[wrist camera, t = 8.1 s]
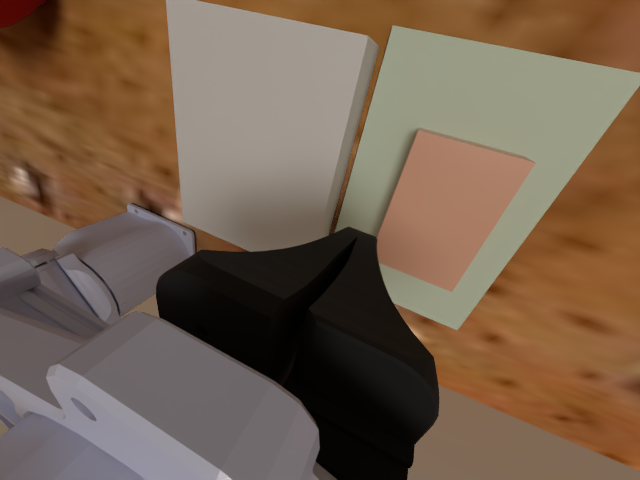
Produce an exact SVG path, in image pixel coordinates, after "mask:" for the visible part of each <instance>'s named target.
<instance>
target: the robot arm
mask: <svg viewBox="0 0 640 480" xmlns="http://www.w3.org/2000/svg"><path fill="white" fill-rule="evenodd" d="M127 210H128V212H126V213H123V214H120V215H117V216H114V217H111V218H108V219H105V220H102V221H100V222H97V223H94V224H91V225H88V226H85V227H82V228H79V229H77V230H74V231H72V232H70V233H68V234H67V235H66V236H64V237H63V238H62V239H61V240H60V241H59V242H58V243H57V244H56V245H55V247H54V248H53V250H52V251H50V250H47V249H39V250H36V251H33V252H31V253H28V254H25V255H22V256H19V255H18V254H16V253H14V252H13V251H11V250H9V249H7V248H3V247H2V248H0V423H2V424H3V425H4V426H5V427H6V428H8V429H9V430H8V431H7V432H6V433H5V434H3V435H2V436H0V480H407V474H408V468H410V467H411V466H412V464H413V458H414V445H415V444H416V442H418V440H419V439H420V438H421V437H422V436H423V435H424V434H425V433H426V432H427V431H428V430H429V429H430V428H431V427H432V426H433V424H434V423H435V421H436V419H437V417H438V412H439V388H438V380H437V374H436V367H435V361H434V357H433V356H432V355H431V353H430V352H429V351H428V350H427V349H426V348H425V346H424V345H423V344H422V343H421V342H420V341H419V339H418V338H417V337H416V336H415V335H414V334H413V332H412V331H411V330H410V328H409V327H408V325H407V324H406V323H405V321H404V320H403V318H402V317H401V315H400V314H399V312H398V310H397V309H396V307H395V305H394V303H393V302H392V300H391V298H390V296H389V293H388V291H387V289H386V286H385V283H384V281H383V277H382V274H381V270H380V266H379V261H378V255H377V241H378V240H377V238H376V237H375V236H373V235H370V234H367V233H365V232H362V231H359V230H357V229H354V228H352V227H346V228H344V229H342V230H339V231H337V232H335V233H333V234H331V235H328V236H326V237H323V238H321V239H318V240H315V241H312V242H309V243H306V244H302V245H298V246H294V247H289V248H284V249H276V250H267V251H254V252H227V251H210V250H200V251H199V252H197V253H195V237H194V233H193V231H192V230H190V229H187V228H185V227H183V226H181V225H178V224H176V223H174V222H172V221H170V220H167V219H165V218H163V217H161V216H158V215H156V214H154V213H152V212H149V211H147V210H145V209H143V208H140V207H138V206H136V205H134V204H128V205H127ZM154 294H156V299H157V305H158V311H159V316H160V318H159V317H156V316H153V315H150V314H147V313H144V312H133V313H131V314H128V315H126V316H124V317H122V318H120V317H121V316H123V315H124V314H126V313H127V312H129V311H130V310H132V309H133V308H135V307H136V306H137V305H139V304H141V303H142V302H144V301H145V300H147V299H148V298H150V297H151V296H152V295H154Z"/></svg>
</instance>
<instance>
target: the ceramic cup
mask: <svg viewBox="0 0 640 480" xmlns="http://www.w3.org/2000/svg"><path fill="white" fill-rule="evenodd" d="M45 2H46V0H0V28H3V27H7V26H10V25H13V24H15V23H17V22H19V21H21V20H22V19H24V18H25V17H27V16H28V15H30V14H31V13H32V12H33V11H35V10H36V8H37V7H38V6H39V5H42V4H44V3H45Z"/></svg>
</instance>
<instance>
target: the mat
mask: <svg viewBox="0 0 640 480" xmlns="http://www.w3.org/2000/svg"><path fill="white" fill-rule="evenodd" d="M639 86H640V73H637V72H632V71H626V70H621V69H616V68H611V67H606V66H600V65H595V64H590V63H585V62H580V61H575V60H569V59H564V58H559V57H554V56H549V55H543V54H538V53H533V52H528V51H523V50H518V49H512V48H507V47H502V46H497V45H492V44H486V43H481V42H476V41H471V40H466V39H461V38H455V37H450V36H445V35H440V34H435V33H429V32H424V31H419V30H414V29H409V28H404V27H398V26H392V30H391V33H390V37H389V41H388V44H387V48H386V51H385V55H384V58H383V62H382V66H381V69H380V73H379V76H378V80H377V83H376V87H375V90H374V94H373V98H372V101H371V105H370V108H369V112H368V115H367V119H366V122H365V126H364V130H363V133H362V137H361V140H360V144H359V147H358V151H357V155H356V158H355V162H354V165H353V169H352V172H351V176H350V179H349V183H348V187H347V190H346V194H345V197H344V201H343V204H342V208H341V211H340V215H339V219H338V222H337V226H336V229H335V232H337V231H339V230H342V229H344V228H346V227H352V228H354V229H357V230H359V231H362V232H365V233H367V234H370V235H373V236H375V237H376V238H377V236H378V234H379V231H380V229H381V226H382V223H383V221H384V218H385V216H386V213H387V210H388V208H389V205H390V203H391V200H392V197H393V195H394V192H395V190H396V187H397V184H398V182H399V179H400V177H401V174H402V171H403V169H404V166H405V164H406V161H407V158H408V156H409V153H410V150H411V148H412V145H413V143H414V140H415V137H416V135H417V132H418V130H419V129H420V128H423V129H427V130H431V131H434V132H438V133H442V134H445V135H449V136H453V137H456V138H460V139H464V140H467V141H471V142H475V143H478V144H482V145H486V146H489V147H493V148H497V149H500V150H504V151H508V152H511V153H515V154H519V155H522V156H525V157H527V158H529V159H530V160H532V161H534V162H535V165H534V167H533V168H532V170H531V171H530V173H529V174H528V176H527V177H526V179H525V180H524V182H523V184H522V185H521V187H520V188H519V190H518V191H517V193H516V194H515V196H514V197H513V199H512V200H511V202H510V204H509V205H508V207H507V208H506V210H505V211H504V213H503V214H502V216H501V217H500V219H499V221H498V222H497V224H496V225H495V227H494V228H493V230H492V231H491V233H490V234H489V236H488V238H487V239H486V241H485V242H484V244H483V245H482V247H481V248H480V250H479V251H478V253H477V254H476V256H475V258H474V259H473V261H472V262H471V264H470V265H469V267H468V268H467V270H466V271H465V273H464V275H463V276H462V278H461V279H460V281H459V282H458V284H457V285H456V287H455V288H454V290H453V291H452V292H450V291H448V290H445V289H443V288H440V287H438V286H435V285H433V284H430V283H428V282H425V281H423V280H420V279H418V278H416V277H413V276H411V275H408V274H406V273H403V272H401V271H398V270H396V269H393V268H391V267H388V266H386V265H383V264H381V263H379V266H380V270H381V274H382V277H383V281H384V283H385V286H386V289H387V291H388V293H389V296H390V298H391V300H392V302H393V303H395V304H397V305H399V306H402V307H404V308H406V309H409V310H411V311H413V312H416V313H418V314H420V315H423V316H425V317H427V318H430V319H432V320H434V321H436V322H439V323H441V324H443V325H446V326H448V327H450V328H453V329H455V330H458V329H459V327H460V326H461V325H462V323H463V322H464V321H465V319H466V318H467V317H468V315H469V314H470V313H471V311H472V310H473V309H474V307H475V306H476V305H477V303H478V302H479V301H480V299H481V298H482V296H483V295H484V294H485V292H486V291H487V290H488V288H489V287H490V286H491V284H492V283H493V282H494V280H495V279H496V278H497V276H498V275H499V274H500V272H501V271H502V270H503V268H504V267H505V266H506V264H507V263H508V262H509V260H510V259H511V258H512V256H513V255H514V253H515V252H516V251H517V249H518V248H519V247H520V245H521V244H522V243H523V241H524V240H525V239H526V237H527V236H528V235H529V233H530V232H531V231H532V229H533V228H534V227H535V225H536V224H537V223H538V221H539V220H540V219H541V217H542V216H543V215H544V213H545V212H546V210H547V209H548V208H549V206H550V205H551V204H552V202H553V201H554V200H555V198H556V197H557V196H558V194H559V193H560V192H561V190H562V189H563V188H564V186H565V185H566V184H567V182H568V181H569V180H570V178H571V177H572V176H573V174H574V173H575V172H576V170H577V169H578V167H579V166H580V165H581V163H582V162H583V161H584V159H585V158H586V157H587V155H588V154H589V153H590V151H591V150H592V149H593V147H594V146H595V145H596V143H597V142H598V141H599V139H600V138H601V137H602V135H603V134H604V133H605V131H606V130H607V129H608V127H609V126H610V124H611V123H612V122H613V120H614V119H615V118H616V116H617V115H618V114H619V112H620V111H621V110H622V108H623V107H624V106H625V104H626V103H627V102H628V100H629V99H630V98H631V96H632V95H633V94H634V92H635V91H636V90H637V88H638V87H639Z"/></svg>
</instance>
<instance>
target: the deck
mask: <svg viewBox="0 0 640 480" xmlns="http://www.w3.org/2000/svg"><path fill="white" fill-rule="evenodd" d="M166 6H167V20H168V33H169V46H170V59H171V72H172V85H173V98H174V111H175V124H176V137H177V150H178V163H179V176H180V189H181V203H182V216H183V222H184V223H186V224H189V225H191V226H193V227H195V228H198V229H200V230H202V231H205V232H207V233H209V234H211V235H214V236H216V237H218V238H220V239H223V240H225V241H227V242H229V243H232V244H234V245H236V246H238V247H241V248H243V249H245V250H247V251H250V252H254V251H267V250H276V249H284V248H289V247H294V246H298V245H302V244H306V243H309V242H312V241H315V240H318V239H321V238H323V237H326V236H328V235H329V233H330V229H331V226H332V222H333V218H334V214H335V211H336V207H337V203H338V200H339V196H340V192H341V188H342V185H343V181H344V177H345V173H346V170H347V166H348V162H349V159H350V155H351V151H352V147H353V144H354V140H355V136H356V133H357V129H358V125H359V121H360V118H361V114H362V110H363V107H364V103H365V99H366V95H367V92H368V88H369V84H370V81H371V77H372V73H373V69H374V66H375V62H376V58H377V55H378V51H379V46H378V45H377V44H376V43H375V42H374V41H373V40H372V39H371V38H370V37H369V36H366V35H362V34H357V33H352V32H347V31H342V30H337V29H333V28H328V27H323V26H318V25H313V24H308V23H303V22H299V21H294V20H289V19H284V18H279V17H274V16H270V15H265V14H260V13H255V12H250V11H245V10H240V9H236V8H231V7H226V6H221V5H216V4H211V3H207V2H202V1H197V0H166Z"/></svg>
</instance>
